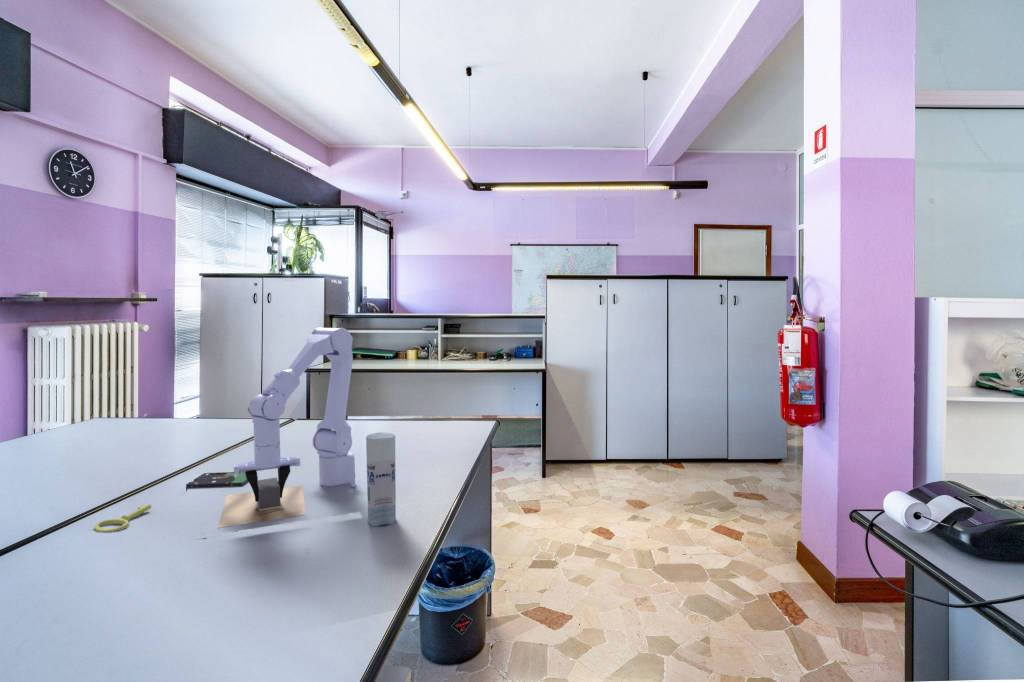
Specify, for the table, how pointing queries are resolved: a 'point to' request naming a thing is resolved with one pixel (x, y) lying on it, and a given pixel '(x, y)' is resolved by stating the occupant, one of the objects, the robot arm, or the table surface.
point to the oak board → (247, 510)
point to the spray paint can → (381, 478)
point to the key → (121, 520)
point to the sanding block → (268, 494)
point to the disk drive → (218, 480)
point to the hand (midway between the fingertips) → (268, 498)
